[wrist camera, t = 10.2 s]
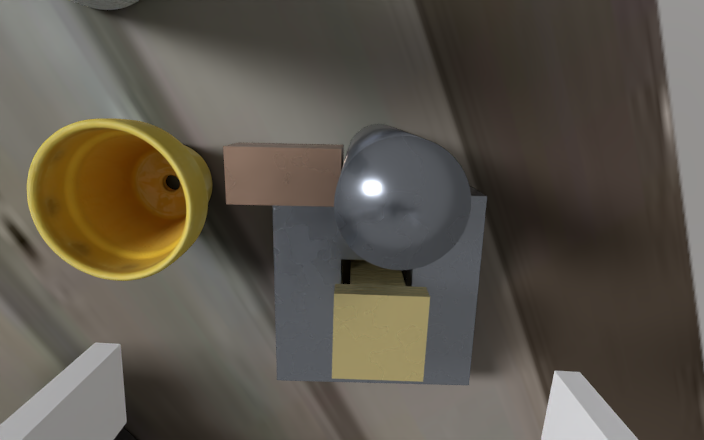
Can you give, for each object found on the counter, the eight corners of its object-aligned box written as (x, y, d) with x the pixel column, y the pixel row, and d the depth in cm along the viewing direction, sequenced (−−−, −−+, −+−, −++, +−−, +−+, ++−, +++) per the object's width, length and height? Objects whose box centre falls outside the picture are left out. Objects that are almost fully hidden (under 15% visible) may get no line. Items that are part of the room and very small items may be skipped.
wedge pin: (338, 307, 38) (331, 378, 28) (339, 243, 37) (334, 293, 27) (405, 310, 38) (423, 381, 28) (409, 246, 37) (430, 296, 27)
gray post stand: (279, 353, 39) (203, 585, 20) (274, 121, 34) (164, 131, 15) (457, 358, 39) (554, 596, 20) (478, 125, 34) (635, 140, 15)
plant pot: (222, 109, 34) (170, 107, 25) (246, 232, 37) (207, 273, 27) (98, 126, 35) (1, 131, 25) (130, 246, 37) (52, 291, 28)
